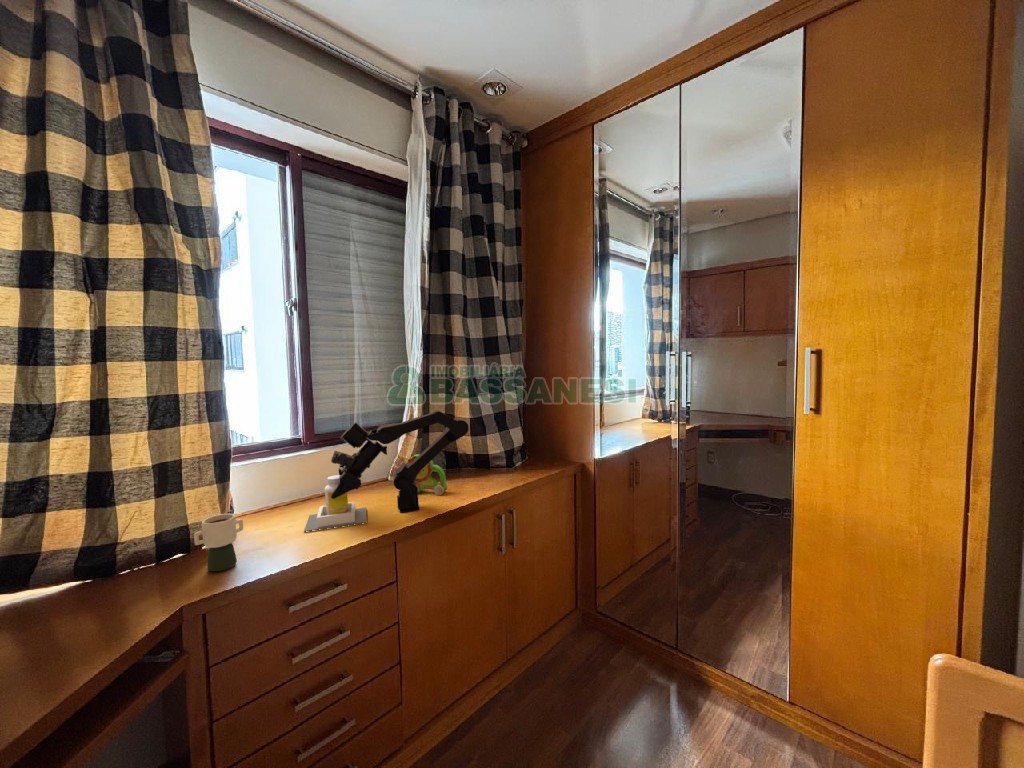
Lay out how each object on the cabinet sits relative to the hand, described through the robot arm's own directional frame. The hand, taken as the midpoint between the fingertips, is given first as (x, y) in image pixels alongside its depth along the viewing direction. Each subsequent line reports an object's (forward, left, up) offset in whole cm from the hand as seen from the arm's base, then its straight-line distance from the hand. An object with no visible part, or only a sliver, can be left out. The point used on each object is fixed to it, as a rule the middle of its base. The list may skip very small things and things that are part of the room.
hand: (331, 494), depth 138 cm
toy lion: (-32, -16, -9) cm, 37 cm away
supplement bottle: (-1, 0, -7) cm, 7 cm away
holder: (-1, 0, -9) cm, 9 cm away
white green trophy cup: (+25, +23, -9) cm, 35 cm away
